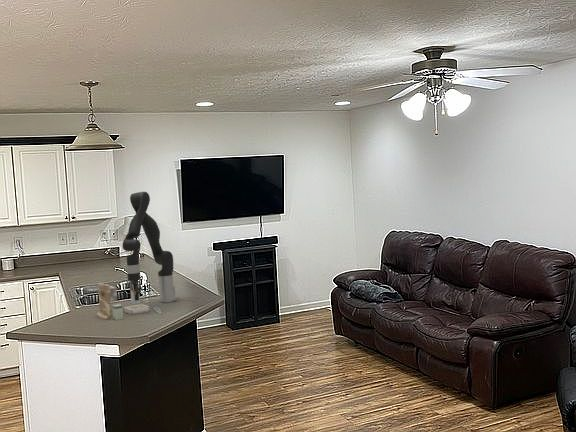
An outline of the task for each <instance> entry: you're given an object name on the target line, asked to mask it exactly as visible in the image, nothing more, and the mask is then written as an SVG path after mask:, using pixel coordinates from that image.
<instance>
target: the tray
mask: <svg viewBox="0 0 576 432" xmlns="http://www.w3.org/2000/svg"><path fill="white" fill-rule="evenodd" d="M150 311H151V310H150V306H149V305H146V304H143V303H141V304H140V303H138V304H136V305H135V304H133V305H129V306H124V307H123V312H124V313H125V314H127V315H130V316H132V315H139V314H143V313H148V312H150Z"/></svg>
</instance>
